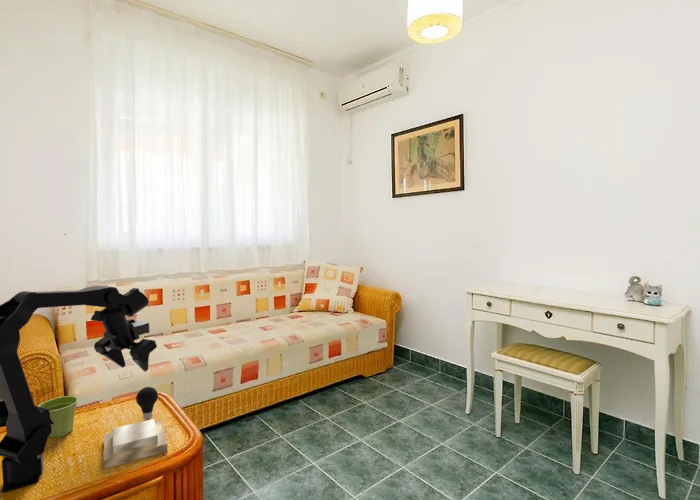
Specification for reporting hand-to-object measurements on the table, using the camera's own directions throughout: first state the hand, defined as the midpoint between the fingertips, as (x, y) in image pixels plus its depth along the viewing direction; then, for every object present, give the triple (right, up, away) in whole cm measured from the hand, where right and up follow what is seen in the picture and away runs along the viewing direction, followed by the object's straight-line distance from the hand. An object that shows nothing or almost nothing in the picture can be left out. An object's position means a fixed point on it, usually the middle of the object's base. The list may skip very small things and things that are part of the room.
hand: (135, 368), depth 117 cm
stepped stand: (+8, -17, -14) cm, 23 cm away
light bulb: (+4, -16, 0) cm, 16 cm away
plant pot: (-18, -16, -7) cm, 25 cm away
